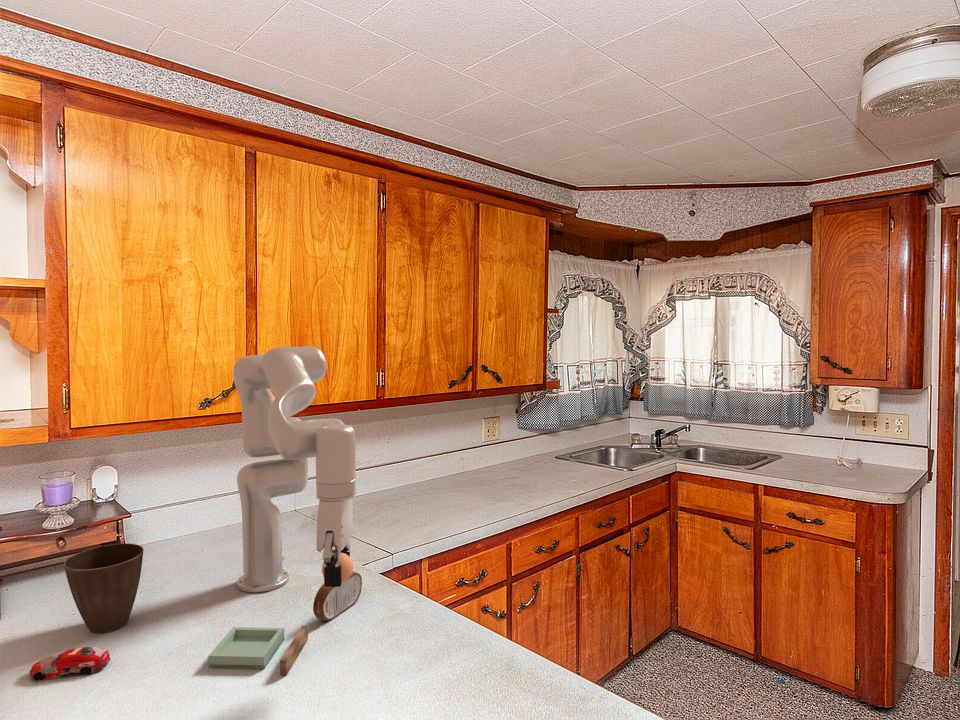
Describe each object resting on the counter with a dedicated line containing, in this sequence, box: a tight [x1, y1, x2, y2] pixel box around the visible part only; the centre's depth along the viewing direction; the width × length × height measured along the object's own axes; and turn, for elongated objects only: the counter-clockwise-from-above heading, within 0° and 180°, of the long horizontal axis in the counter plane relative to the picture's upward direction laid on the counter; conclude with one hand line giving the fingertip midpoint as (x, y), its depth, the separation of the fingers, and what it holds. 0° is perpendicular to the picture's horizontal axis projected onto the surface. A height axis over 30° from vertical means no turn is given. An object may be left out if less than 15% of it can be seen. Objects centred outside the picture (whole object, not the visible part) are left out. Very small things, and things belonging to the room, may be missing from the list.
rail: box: [279, 625, 309, 677], centre depth 121 cm, size 13×1×3 cm, turn 178°
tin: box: [312, 571, 363, 621], centre depth 139 cm, size 15×3×8 cm, turn 154°
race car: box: [29, 646, 111, 682], centre depth 116 cm, size 13×5×4 cm, turn 102°
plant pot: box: [63, 543, 145, 635], centre depth 133 cm, size 15×15×16 cm
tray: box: [207, 626, 285, 670], centre depth 122 cm, size 11×11×2 cm
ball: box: [321, 552, 354, 583], centre depth 117 cm, size 6×6×6 cm
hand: (337, 577), depth 118 cm, fingers closed on ball, 5 cm apart
